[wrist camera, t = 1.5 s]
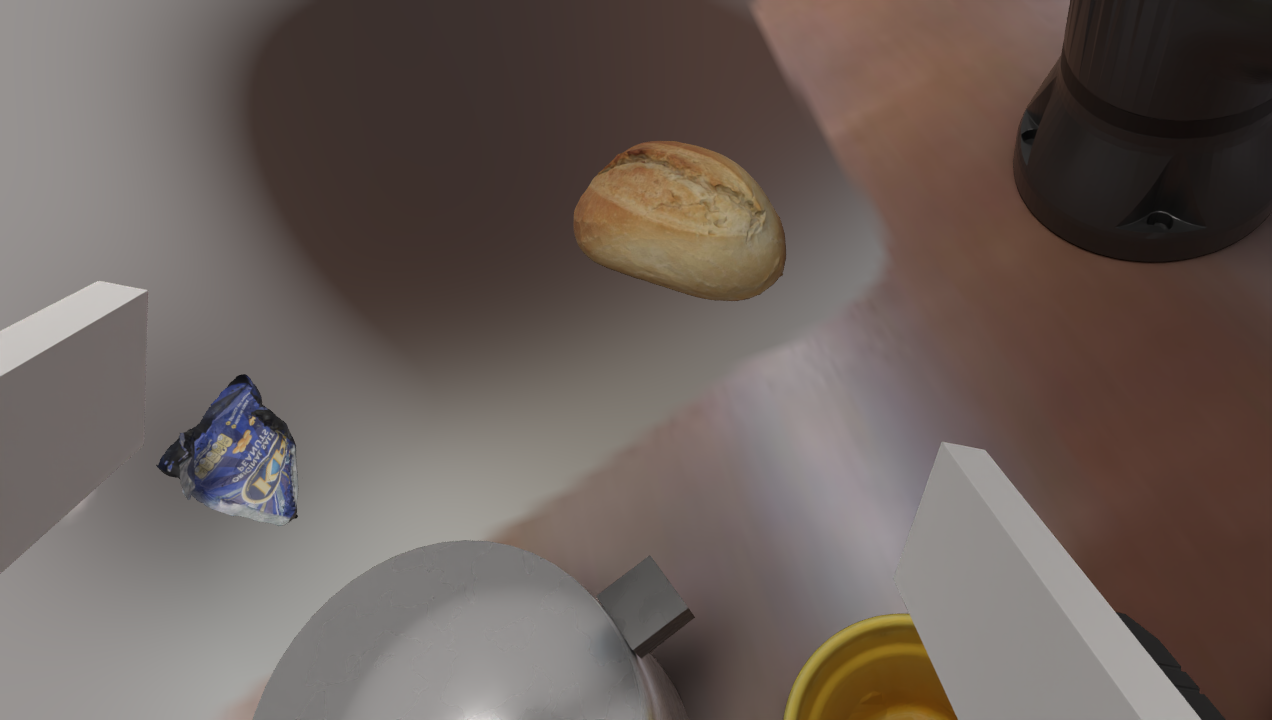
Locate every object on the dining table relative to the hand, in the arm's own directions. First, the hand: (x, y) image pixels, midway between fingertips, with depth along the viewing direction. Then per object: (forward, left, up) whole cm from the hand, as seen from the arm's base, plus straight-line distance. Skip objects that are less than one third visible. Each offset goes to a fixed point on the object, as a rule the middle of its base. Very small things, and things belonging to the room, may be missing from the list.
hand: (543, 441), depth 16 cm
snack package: (+18, -36, -38) cm, 56 cm away
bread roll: (-14, -29, -38) cm, 50 cm away
